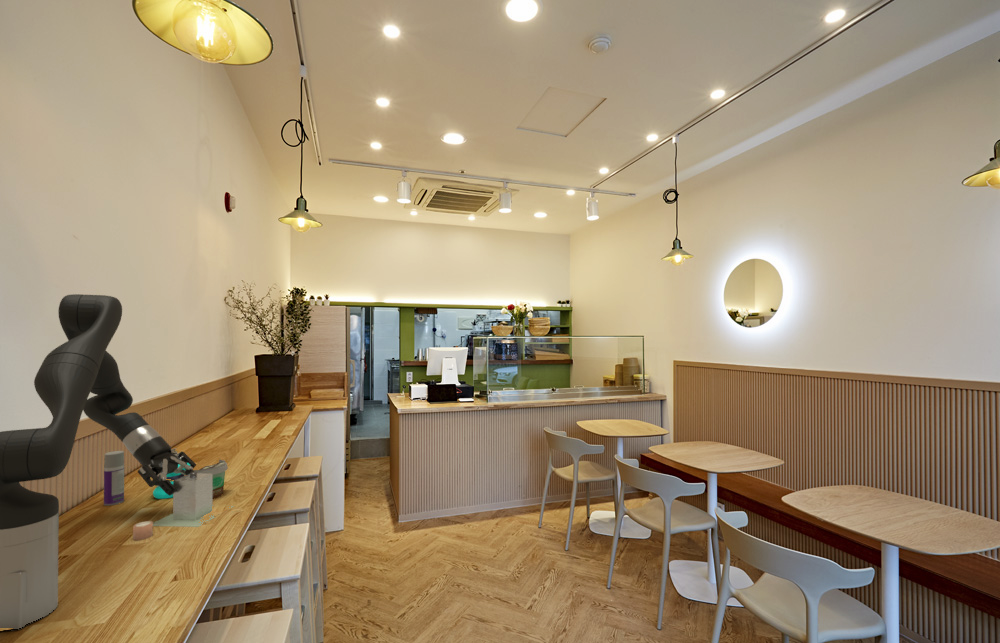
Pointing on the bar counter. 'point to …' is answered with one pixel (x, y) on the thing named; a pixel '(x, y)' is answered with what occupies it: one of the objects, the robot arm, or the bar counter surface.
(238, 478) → the bar counter surface
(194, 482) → the steel cover
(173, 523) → the rubber mat
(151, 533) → the terracotta ramekin
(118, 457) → the container
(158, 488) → the donuts
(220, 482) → the food container
